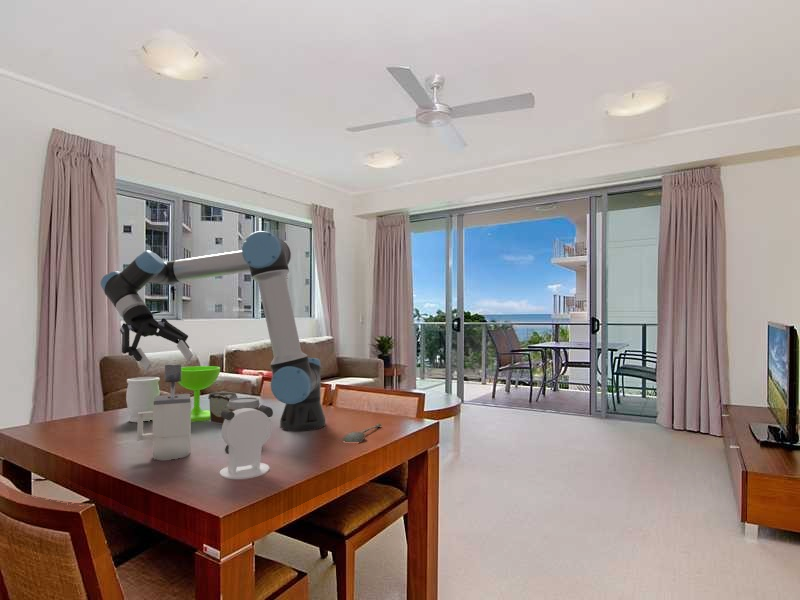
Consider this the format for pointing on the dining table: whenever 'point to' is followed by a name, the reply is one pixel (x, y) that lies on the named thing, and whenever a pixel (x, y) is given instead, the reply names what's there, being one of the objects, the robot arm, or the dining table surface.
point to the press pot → (168, 426)
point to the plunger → (173, 376)
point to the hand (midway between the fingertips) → (170, 362)
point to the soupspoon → (357, 435)
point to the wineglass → (198, 386)
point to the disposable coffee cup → (243, 403)
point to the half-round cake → (219, 405)
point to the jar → (141, 396)
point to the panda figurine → (245, 441)
